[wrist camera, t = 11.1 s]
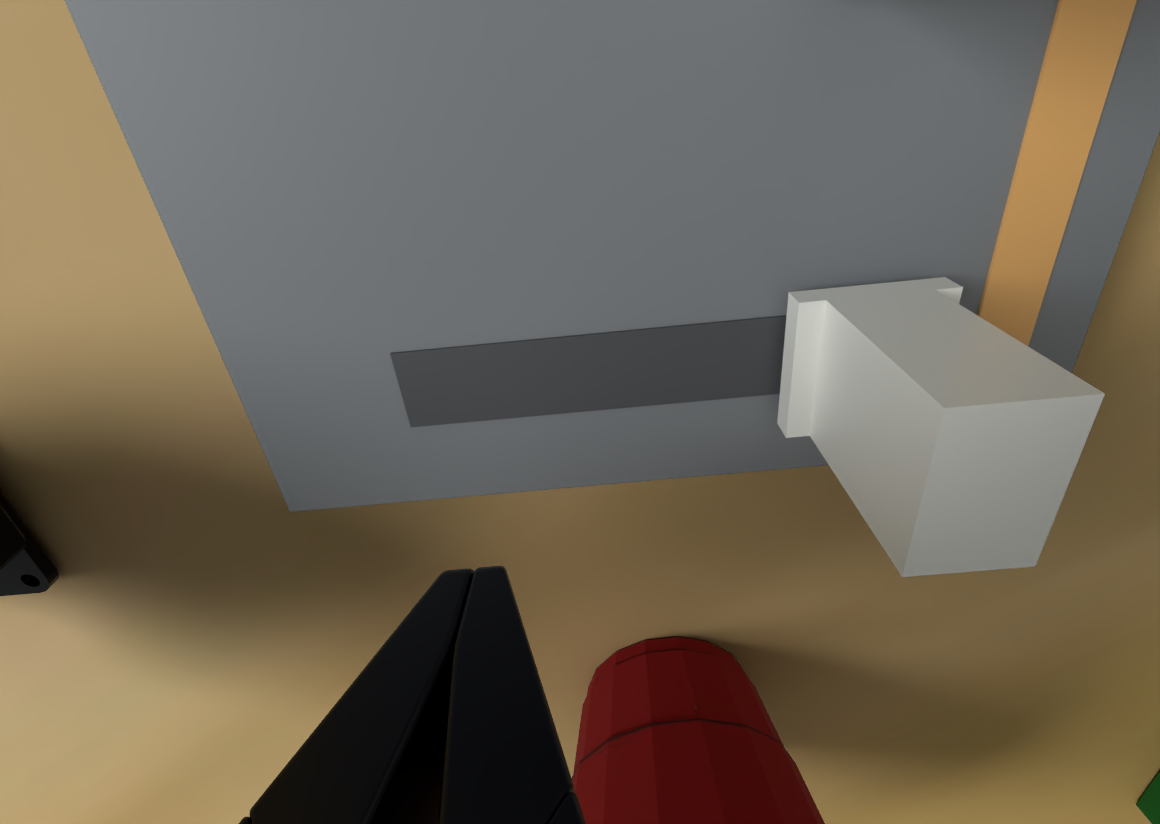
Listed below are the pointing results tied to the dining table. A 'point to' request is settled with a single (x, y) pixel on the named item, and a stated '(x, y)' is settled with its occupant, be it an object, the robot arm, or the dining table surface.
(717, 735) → the plastic cup
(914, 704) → the dining table surface
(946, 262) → the breaker panel
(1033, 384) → the block
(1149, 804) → the milk carton
